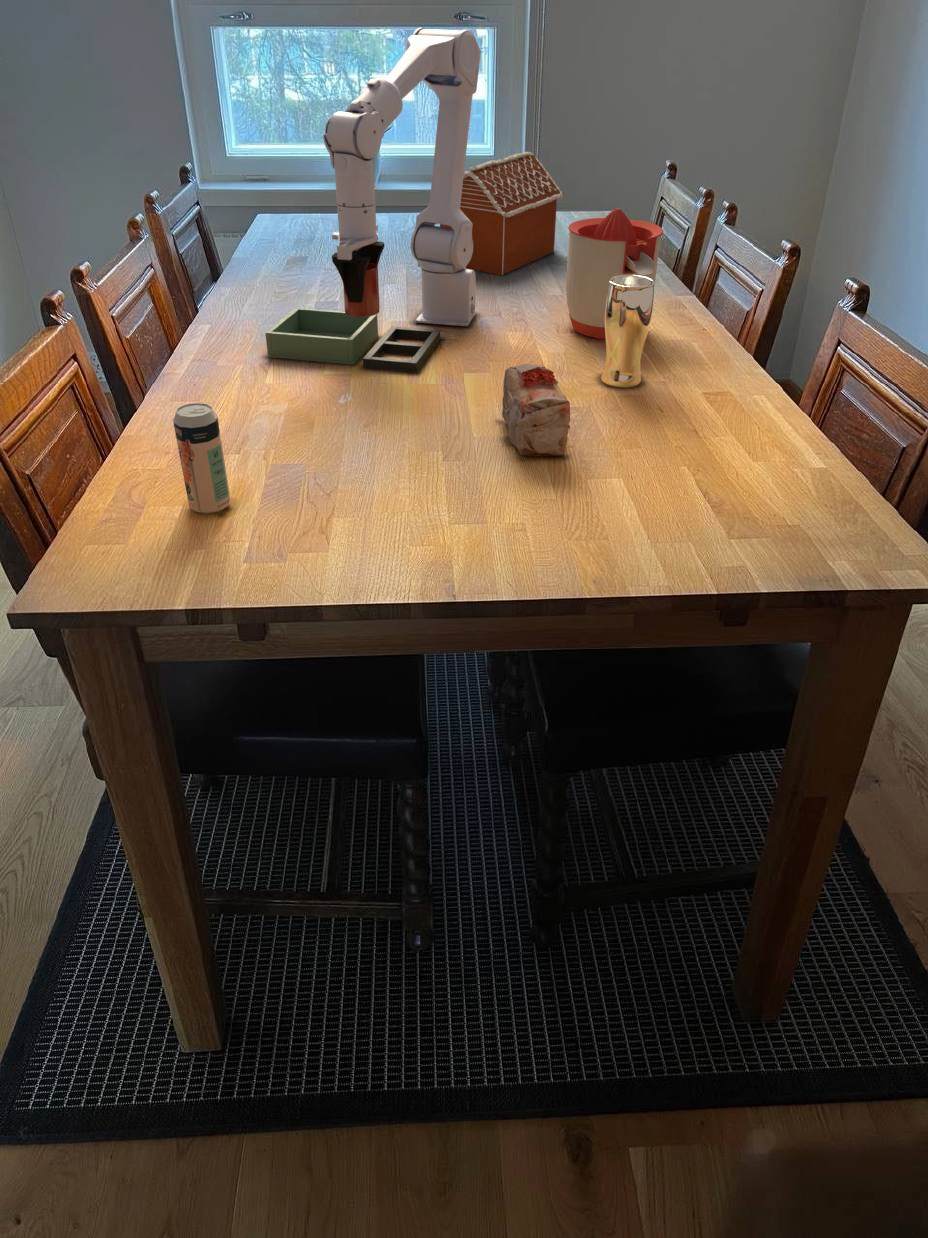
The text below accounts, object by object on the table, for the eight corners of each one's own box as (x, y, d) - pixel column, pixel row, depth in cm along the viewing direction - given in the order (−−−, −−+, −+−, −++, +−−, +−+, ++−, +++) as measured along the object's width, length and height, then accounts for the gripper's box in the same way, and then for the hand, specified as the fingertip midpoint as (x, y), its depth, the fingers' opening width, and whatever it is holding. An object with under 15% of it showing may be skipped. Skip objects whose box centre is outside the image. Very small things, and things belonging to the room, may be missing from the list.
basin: (378, 337, 157) (377, 313, 154) (353, 364, 146) (352, 339, 144) (298, 330, 159) (295, 307, 157) (268, 357, 148) (265, 332, 146)
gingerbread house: (562, 251, 205) (569, 152, 193) (504, 277, 187) (508, 170, 176) (492, 239, 213) (494, 144, 201) (430, 264, 195) (428, 160, 184)
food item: (574, 460, 118) (580, 387, 113) (514, 464, 117) (517, 391, 111) (547, 418, 129) (552, 349, 124) (492, 422, 128) (494, 353, 122)
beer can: (193, 497, 109) (175, 401, 102) (233, 496, 110) (218, 400, 103) (186, 516, 105) (167, 419, 98) (228, 515, 106) (212, 418, 99)
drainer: (441, 338, 157) (441, 329, 156) (416, 372, 143) (416, 363, 143) (391, 334, 158) (391, 325, 157) (362, 367, 145) (362, 358, 144)
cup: (383, 307, 148) (381, 262, 143) (373, 318, 143) (371, 271, 139) (351, 305, 148) (348, 260, 144) (340, 315, 144) (337, 269, 140)
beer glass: (647, 375, 143) (659, 276, 134) (639, 391, 138) (651, 289, 129) (603, 369, 145) (613, 272, 136) (593, 385, 140) (603, 284, 131)
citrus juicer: (599, 353, 151) (612, 224, 140) (544, 323, 164) (551, 202, 152) (674, 339, 157) (693, 215, 145) (616, 311, 170) (628, 194, 158)
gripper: (345, 192, 143) (351, 281, 151) (314, 212, 131) (322, 307, 139) (389, 194, 142) (392, 284, 150) (361, 214, 130) (366, 311, 138)
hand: (361, 296), depth 144 cm, fingers closed on cup, 5 cm apart
